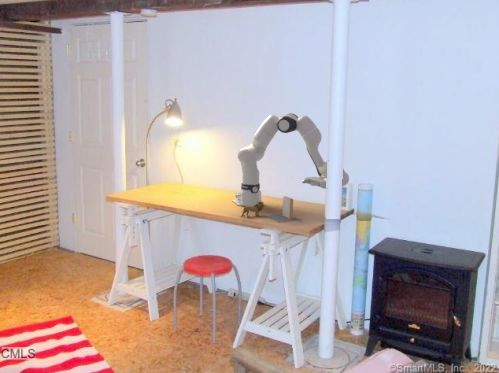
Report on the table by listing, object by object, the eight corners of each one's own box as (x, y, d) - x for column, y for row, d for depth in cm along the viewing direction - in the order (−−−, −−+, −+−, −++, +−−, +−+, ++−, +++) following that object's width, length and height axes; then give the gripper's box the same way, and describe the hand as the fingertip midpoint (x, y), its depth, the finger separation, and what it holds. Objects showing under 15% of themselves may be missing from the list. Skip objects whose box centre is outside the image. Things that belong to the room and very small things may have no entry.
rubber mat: (264, 216, 330) (264, 216, 330) (286, 214, 337) (286, 213, 337) (279, 223, 314) (279, 222, 314) (302, 220, 322) (302, 219, 322)
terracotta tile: (282, 216, 330) (283, 196, 328) (285, 215, 331) (286, 196, 329) (289, 219, 323) (290, 199, 321) (292, 218, 324) (293, 198, 322)
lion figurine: (261, 214, 336) (261, 200, 334) (265, 216, 331) (265, 202, 329) (239, 216, 330) (239, 201, 328) (242, 218, 325) (242, 203, 324)
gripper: (316, 173, 344) (297, 175, 338) (335, 178, 326) (316, 180, 320) (315, 183, 345) (297, 185, 339) (335, 188, 328) (316, 190, 321)
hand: (306, 183), depth 329 cm, fingers open, 8 cm apart
